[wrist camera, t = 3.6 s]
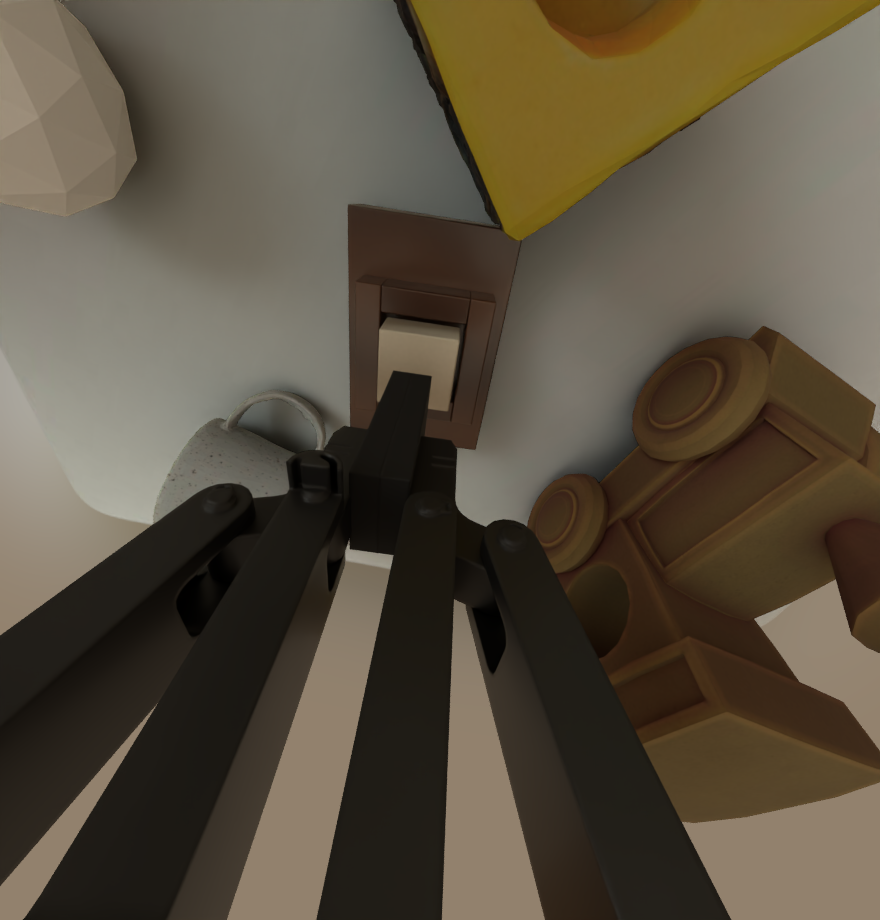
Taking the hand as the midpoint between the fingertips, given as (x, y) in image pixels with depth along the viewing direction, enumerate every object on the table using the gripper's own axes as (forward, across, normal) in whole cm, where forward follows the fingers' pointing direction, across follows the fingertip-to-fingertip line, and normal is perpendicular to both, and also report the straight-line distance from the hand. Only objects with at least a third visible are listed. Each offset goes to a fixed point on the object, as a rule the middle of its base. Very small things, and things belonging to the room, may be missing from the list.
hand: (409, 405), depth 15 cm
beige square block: (+5, 0, 0) cm, 5 cm away
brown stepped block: (+9, 0, 0) cm, 9 cm away
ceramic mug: (+9, -10, -10) cm, 17 cm away
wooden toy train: (+9, +16, -7) cm, 20 cm away
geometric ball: (+9, -17, +8) cm, 21 cm away
